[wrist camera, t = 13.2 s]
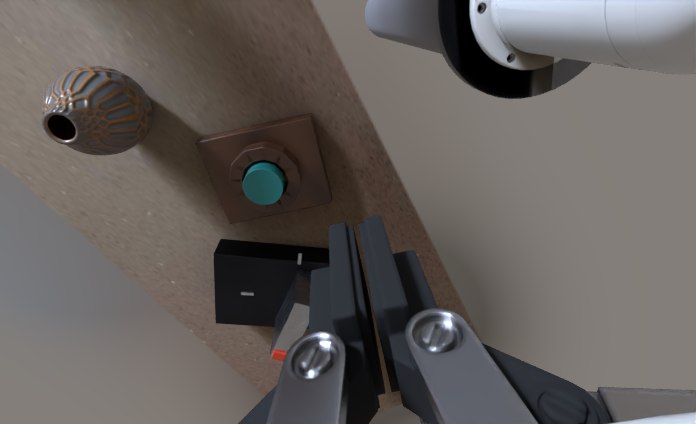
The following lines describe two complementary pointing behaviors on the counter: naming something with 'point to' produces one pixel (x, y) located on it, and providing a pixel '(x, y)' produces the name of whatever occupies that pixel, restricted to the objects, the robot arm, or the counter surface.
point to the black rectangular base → (258, 278)
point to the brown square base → (272, 147)
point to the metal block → (292, 315)
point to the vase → (96, 110)
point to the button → (264, 183)
